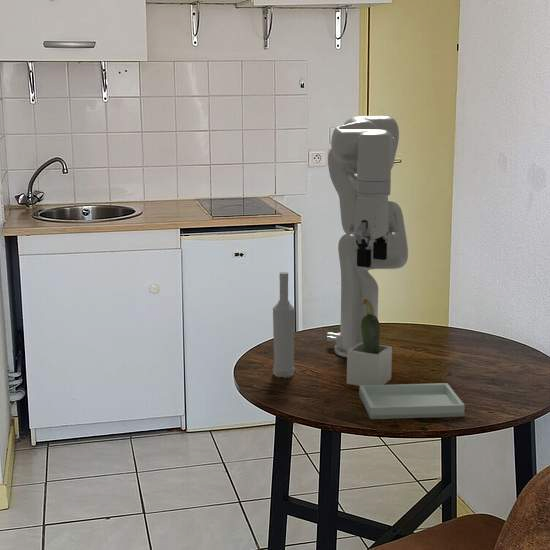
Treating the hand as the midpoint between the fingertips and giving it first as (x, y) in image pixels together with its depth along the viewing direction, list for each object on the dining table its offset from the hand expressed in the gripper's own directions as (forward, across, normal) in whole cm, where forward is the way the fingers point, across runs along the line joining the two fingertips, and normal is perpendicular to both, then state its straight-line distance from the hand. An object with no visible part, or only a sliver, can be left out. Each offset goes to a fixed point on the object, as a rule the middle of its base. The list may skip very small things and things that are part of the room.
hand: (372, 262), depth 208 cm
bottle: (+29, +5, -20) cm, 35 cm away
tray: (+29, +11, +14) cm, 33 cm away
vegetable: (+29, 0, 0) cm, 29 cm away
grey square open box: (+28, 0, 0) cm, 29 cm away
